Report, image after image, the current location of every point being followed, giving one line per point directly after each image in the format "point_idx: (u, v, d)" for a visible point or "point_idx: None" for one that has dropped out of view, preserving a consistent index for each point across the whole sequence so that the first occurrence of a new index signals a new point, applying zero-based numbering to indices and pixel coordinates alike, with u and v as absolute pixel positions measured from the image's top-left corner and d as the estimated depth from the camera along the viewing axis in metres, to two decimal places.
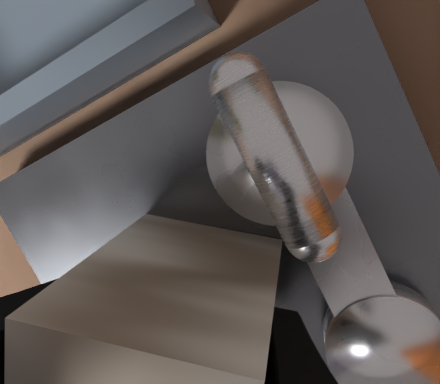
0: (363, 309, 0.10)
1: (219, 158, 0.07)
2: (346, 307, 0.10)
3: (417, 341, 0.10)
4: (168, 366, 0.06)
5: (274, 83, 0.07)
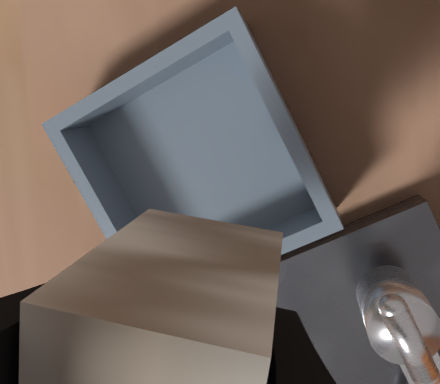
0: None
1: (375, 332, 0.14)
2: None
3: None
4: (178, 346, 0.06)
5: (406, 302, 0.14)
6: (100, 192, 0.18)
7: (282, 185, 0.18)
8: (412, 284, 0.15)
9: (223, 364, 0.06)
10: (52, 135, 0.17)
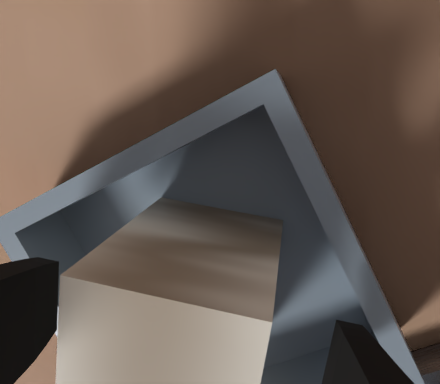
0: None
1: None
2: None
3: None
4: (194, 312, 0.07)
5: None
6: None
7: (328, 300, 0.13)
8: None
9: (232, 327, 0.07)
10: (4, 238, 0.12)
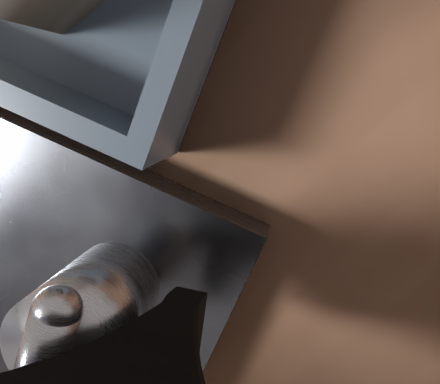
0: None
1: (18, 317, 0.08)
2: None
3: None
4: None
5: (88, 317, 0.08)
6: None
7: (143, 60, 0.11)
8: (139, 302, 0.09)
9: None
10: None
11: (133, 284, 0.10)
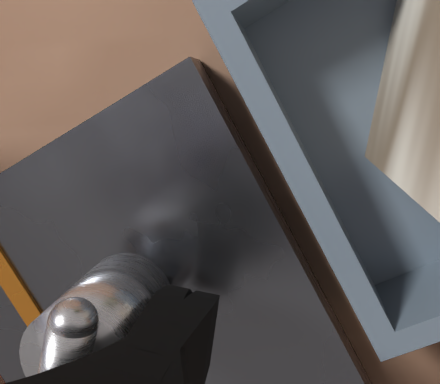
0: None
1: (36, 334, 0.08)
2: None
3: None
4: None
5: (104, 327, 0.08)
6: None
7: (411, 231, 0.11)
8: None
9: None
10: None
11: (145, 292, 0.10)
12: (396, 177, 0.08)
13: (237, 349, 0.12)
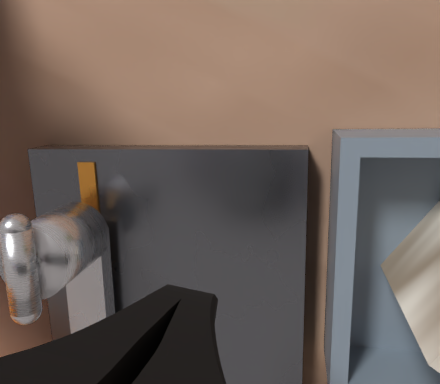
0: None
1: None
2: None
3: None
4: None
5: (39, 232, 0.12)
6: None
7: (382, 324, 0.16)
8: (83, 227, 0.14)
9: None
10: None
11: (77, 218, 0.14)
12: (404, 307, 0.12)
13: (230, 343, 0.17)
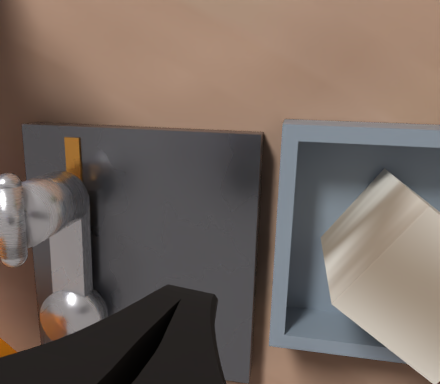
0: (66, 295, 0.19)
1: None
2: (59, 290, 0.19)
3: (84, 322, 0.19)
4: None
5: (28, 190, 0.15)
6: None
7: (321, 289, 0.19)
8: (66, 190, 0.16)
9: None
10: None
11: (61, 182, 0.17)
12: (327, 266, 0.15)
13: None
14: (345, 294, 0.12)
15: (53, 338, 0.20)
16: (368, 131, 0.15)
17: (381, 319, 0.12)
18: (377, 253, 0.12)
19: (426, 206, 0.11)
